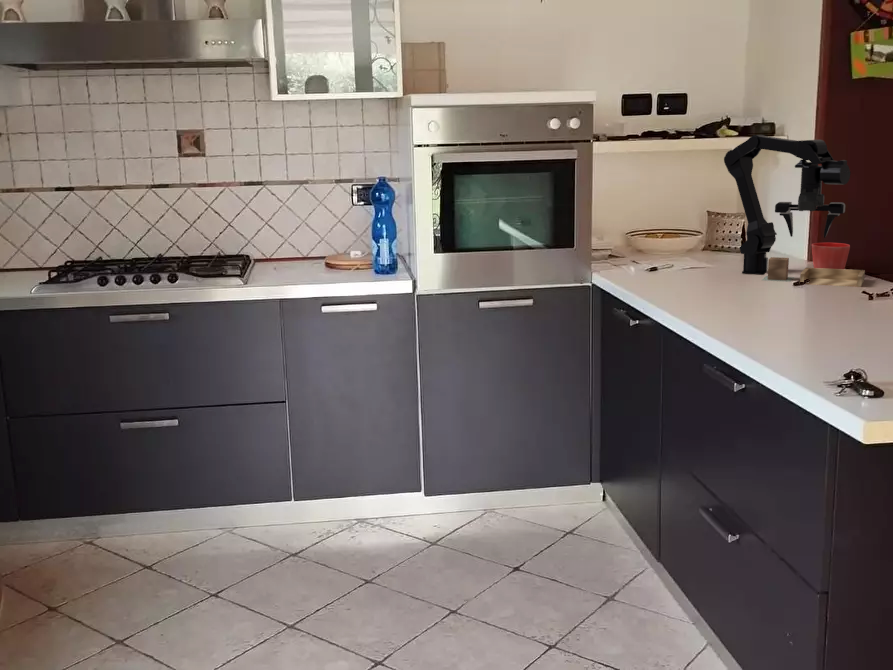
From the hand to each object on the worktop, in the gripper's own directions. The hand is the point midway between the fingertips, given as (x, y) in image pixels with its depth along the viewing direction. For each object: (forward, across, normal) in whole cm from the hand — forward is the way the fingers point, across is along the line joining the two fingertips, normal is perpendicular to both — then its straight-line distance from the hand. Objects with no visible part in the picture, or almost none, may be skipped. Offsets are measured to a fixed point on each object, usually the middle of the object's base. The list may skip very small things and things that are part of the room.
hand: (808, 237), depth 267 cm
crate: (+12, +8, -7) cm, 16 cm away
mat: (+12, -7, -6) cm, 16 cm away
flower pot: (+13, +6, +7) cm, 16 cm away
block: (+12, -7, -6) cm, 15 cm away
